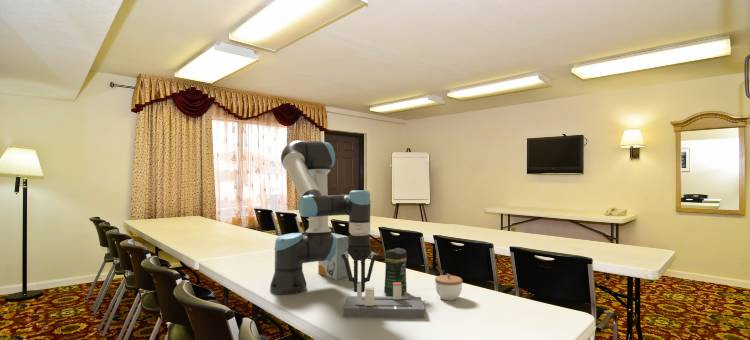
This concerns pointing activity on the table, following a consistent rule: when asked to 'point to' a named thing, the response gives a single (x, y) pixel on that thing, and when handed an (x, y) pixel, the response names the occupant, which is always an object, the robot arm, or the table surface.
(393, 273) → the coffee jar
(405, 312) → the console
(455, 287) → the lidded jar
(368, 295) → the fader front
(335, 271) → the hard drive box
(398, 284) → the block
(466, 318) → the table surface
